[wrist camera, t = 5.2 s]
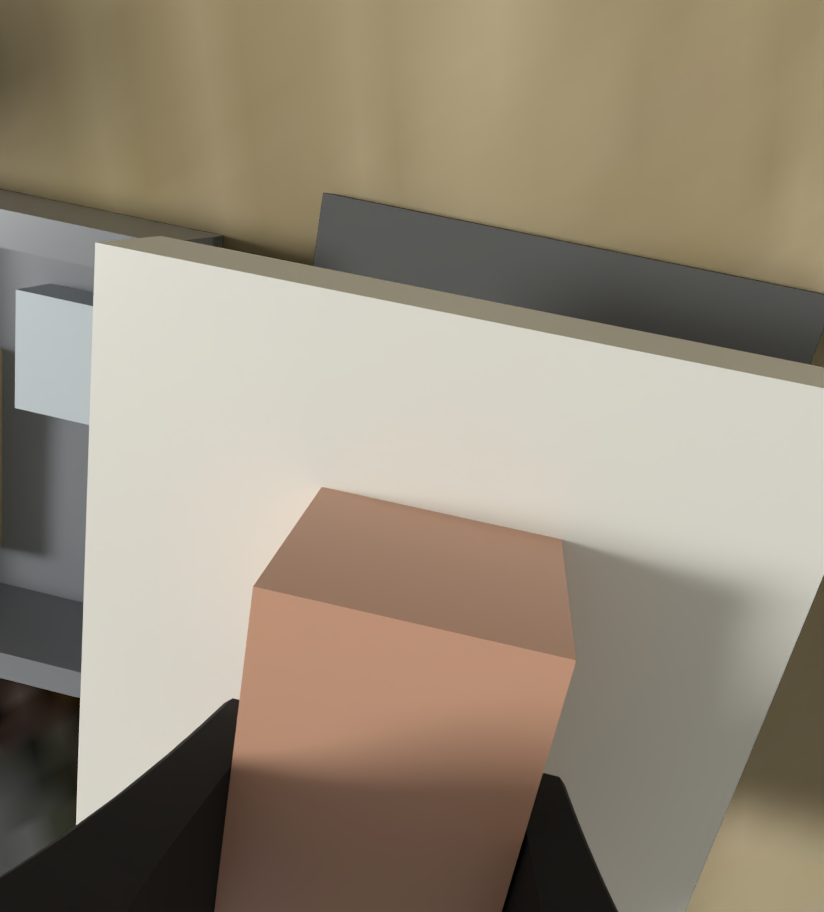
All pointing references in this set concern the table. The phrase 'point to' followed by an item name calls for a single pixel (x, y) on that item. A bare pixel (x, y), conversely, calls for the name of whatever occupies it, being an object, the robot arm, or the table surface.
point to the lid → (433, 574)
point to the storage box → (49, 425)
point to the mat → (567, 279)
